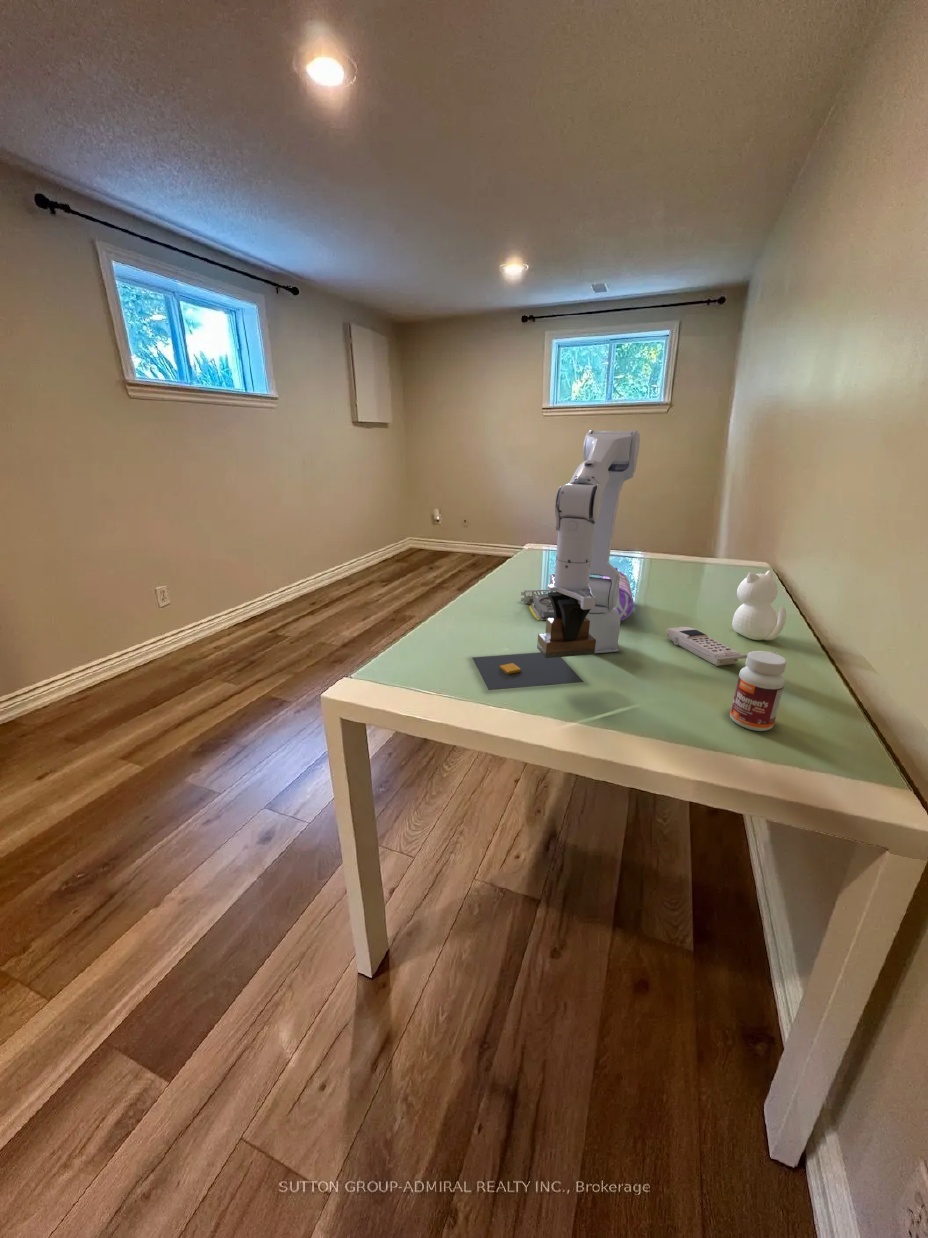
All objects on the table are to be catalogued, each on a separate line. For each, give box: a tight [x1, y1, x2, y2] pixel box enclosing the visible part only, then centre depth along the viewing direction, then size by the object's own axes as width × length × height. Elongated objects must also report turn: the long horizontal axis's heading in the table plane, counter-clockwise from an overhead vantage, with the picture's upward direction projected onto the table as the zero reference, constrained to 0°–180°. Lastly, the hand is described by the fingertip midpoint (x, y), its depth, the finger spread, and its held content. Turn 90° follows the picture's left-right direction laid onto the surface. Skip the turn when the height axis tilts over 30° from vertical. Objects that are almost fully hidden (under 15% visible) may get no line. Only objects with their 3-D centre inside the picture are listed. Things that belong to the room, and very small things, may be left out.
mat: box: [471, 652, 584, 691], centre depth 95 cm, size 18×14×1 cm
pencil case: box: [599, 567, 634, 622], centre depth 128 cm, size 22×9×9 cm, turn 167°
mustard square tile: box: [500, 663, 521, 674], centre depth 94 cm, size 3×3×1 cm
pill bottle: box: [729, 650, 787, 732], centre depth 76 cm, size 6×6×11 cm
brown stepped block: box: [536, 617, 596, 658], centre depth 85 cm, size 9×4×6 cm, turn 101°
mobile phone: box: [666, 626, 777, 667], centre depth 101 cm, size 6×6×25 cm
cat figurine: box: [731, 569, 787, 641], centre depth 110 cm, size 9×12×15 cm
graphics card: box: [520, 589, 556, 621], centre depth 128 cm, size 17×4×12 cm
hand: (566, 635), depth 86 cm, fingers closed on brown stepped block, 2 cm apart
